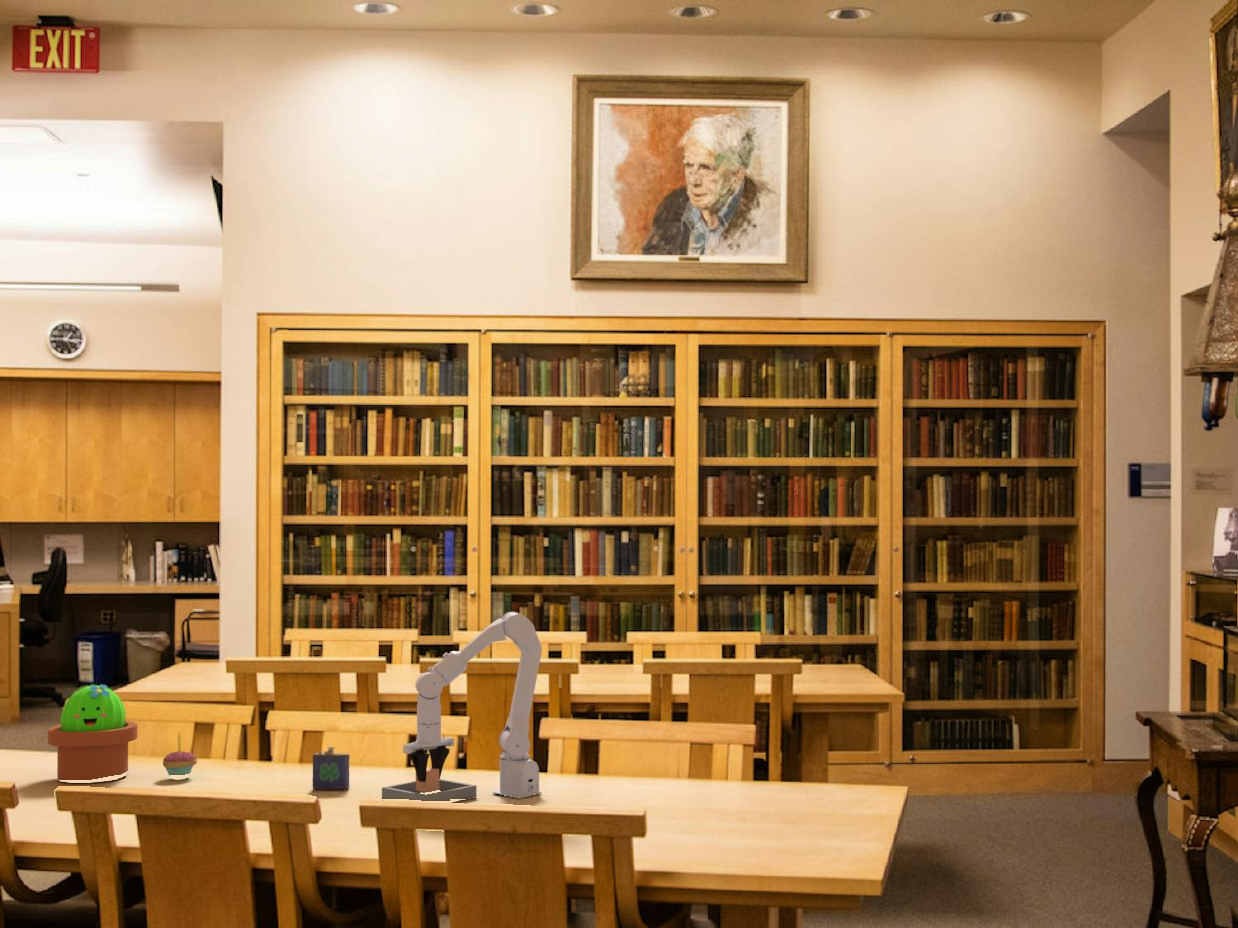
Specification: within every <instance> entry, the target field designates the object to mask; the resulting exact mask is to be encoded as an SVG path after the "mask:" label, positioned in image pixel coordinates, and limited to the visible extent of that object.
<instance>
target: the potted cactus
mask: <svg viewBox="0 0 1238 928" xmlns="http://www.w3.org/2000/svg"><path fill="white" fill-rule="evenodd" d="M122 699H123V698H120V696H119V694H117V693H116V692H115V691H114V690H113V689H112V687H110V688H109V687H108V685H106V684H100V685H97V684H90V685H86V686H85V685H81V686H80V687H78V689H77V690H75V691H73V693H72V695H70V697H69V698H68V699H67V701H65V704H64V705H63V707H60V708H61V709H62V712H61V715H60V723H59V724H57V725H53V726H51V727H49V728H48V730H47V744H48V745H49V746H53V747H57V770H56V771H57V777H58V778H57V780H58V779H59V780H92V779H98V778H103V777H108V776H114V775H121V774H123V773H125V772H127V771H128V772H129V743H130V742H132V741H134V740H136V739H137V738H138V723H137V722H135V721H132V720H131V721H130V720H127V719H126V715H127V714H128V712H126V711H125V710H126V709H125V706H124V703H123V702H122ZM59 780H58V781H59Z"/></svg>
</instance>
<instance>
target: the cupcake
mask: <svg viewBox="0 0 1238 928" xmlns="http://www.w3.org/2000/svg"><path fill="white" fill-rule="evenodd" d="M180 733H181V732H180V731H178V735H177V751H175V752H173V751H172V752H170V753H168V754H167V755H166V756H165V757H164V758H163V759H162V760H163V762H162V766H163V767H164V768H165V770H166V773H167V774H169V775H185V774H189V773H190V774H191V772H192V769H193V767H194V766H195V765H197V764H198V761H197V760H198V759H197V758H198V757H196V756H195V755H194V754H193V753H192V752H189V751H182V743H181V742H182V741H181V738H182V737H181V735H182V734H180ZM169 775H168V776H169Z"/></svg>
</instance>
